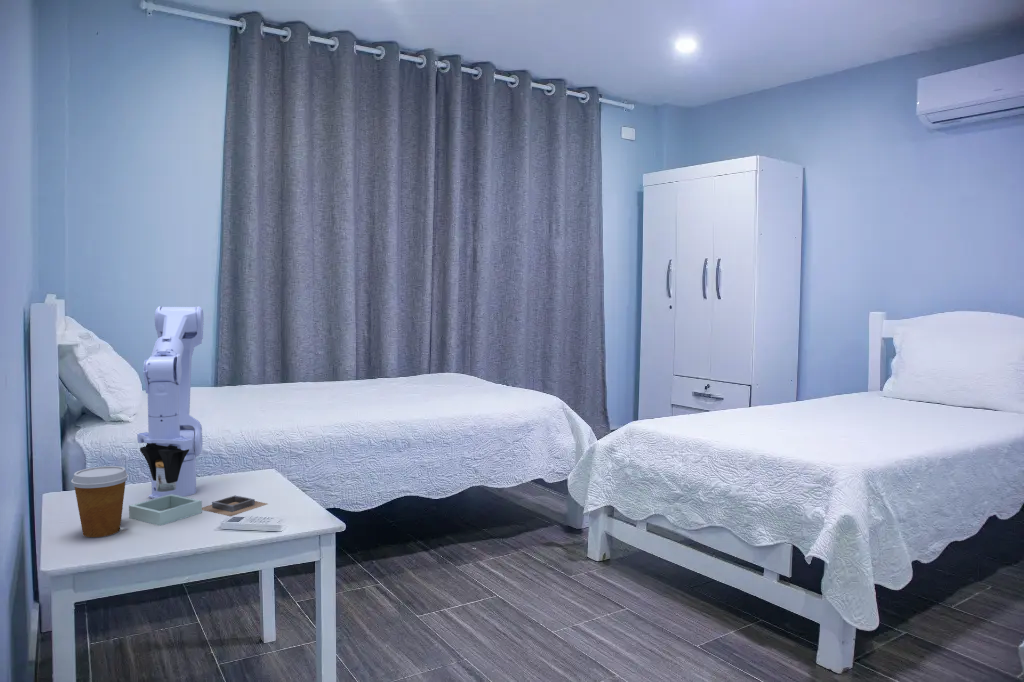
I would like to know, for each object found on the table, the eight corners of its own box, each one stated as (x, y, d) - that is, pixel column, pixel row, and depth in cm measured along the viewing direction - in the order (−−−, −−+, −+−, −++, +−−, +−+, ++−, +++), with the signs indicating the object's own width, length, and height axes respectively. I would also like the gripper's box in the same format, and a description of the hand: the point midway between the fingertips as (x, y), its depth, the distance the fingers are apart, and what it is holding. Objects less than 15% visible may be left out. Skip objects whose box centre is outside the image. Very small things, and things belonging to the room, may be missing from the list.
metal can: (170, 485, 148) (169, 457, 148) (180, 488, 146) (179, 459, 145) (152, 489, 145) (151, 460, 144) (162, 492, 143) (161, 463, 142)
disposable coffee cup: (71, 543, 131) (69, 480, 131) (74, 528, 140) (72, 468, 139) (129, 535, 136) (128, 474, 135) (129, 521, 144) (127, 463, 143)
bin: (129, 522, 144) (128, 505, 143) (171, 510, 152) (171, 494, 152) (160, 530, 139) (159, 512, 139) (202, 517, 148) (201, 500, 147)
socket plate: (197, 513, 150) (197, 503, 150) (236, 501, 159) (236, 491, 159) (230, 520, 145) (230, 510, 145) (268, 508, 154) (268, 498, 154)
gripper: (122, 414, 144) (124, 480, 145) (169, 421, 137) (171, 490, 138) (154, 409, 150) (155, 473, 151) (200, 415, 144) (202, 482, 144)
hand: (165, 480), depth 145 cm, fingers closed on metal can, 4 cm apart
